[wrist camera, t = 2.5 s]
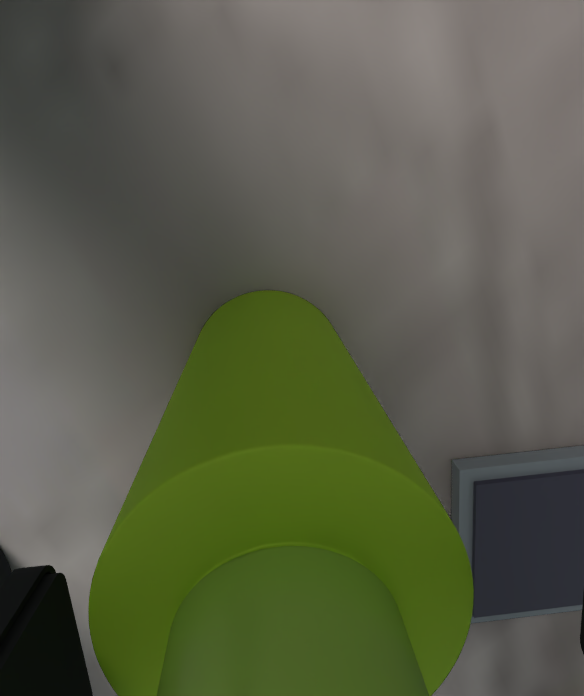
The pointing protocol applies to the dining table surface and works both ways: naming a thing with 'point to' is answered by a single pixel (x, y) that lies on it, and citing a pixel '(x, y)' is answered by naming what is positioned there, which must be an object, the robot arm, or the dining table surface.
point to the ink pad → (522, 531)
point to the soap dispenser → (278, 530)
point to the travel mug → (3, 568)
